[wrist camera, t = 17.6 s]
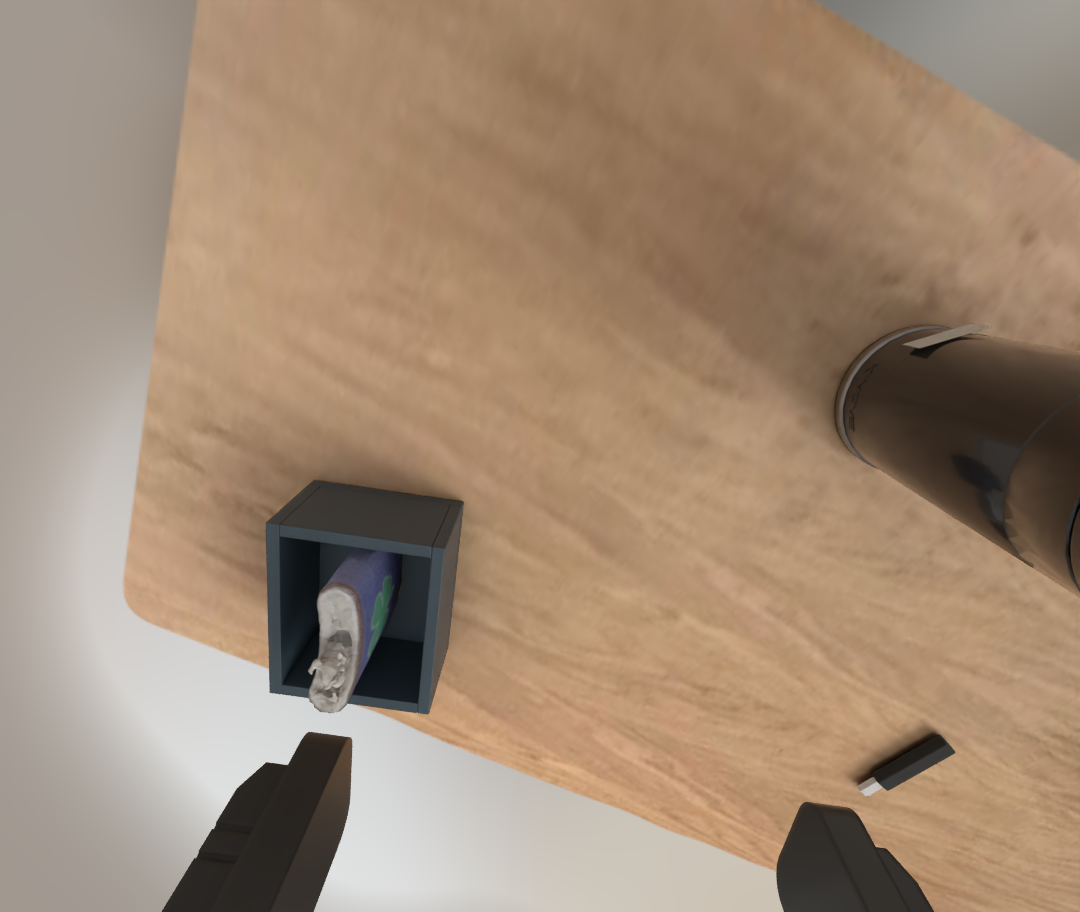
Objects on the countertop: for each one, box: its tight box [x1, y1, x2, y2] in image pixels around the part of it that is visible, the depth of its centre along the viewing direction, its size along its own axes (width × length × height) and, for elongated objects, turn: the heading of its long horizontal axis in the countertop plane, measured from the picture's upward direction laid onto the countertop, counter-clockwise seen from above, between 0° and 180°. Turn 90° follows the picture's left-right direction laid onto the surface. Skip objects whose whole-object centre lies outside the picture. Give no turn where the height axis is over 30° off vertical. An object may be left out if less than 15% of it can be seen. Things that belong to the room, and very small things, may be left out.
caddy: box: [266, 480, 464, 714], centre depth 37 cm, size 11×13×7 cm
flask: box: [308, 547, 403, 713], centre depth 35 cm, size 9×3×11 cm, turn 168°
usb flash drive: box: [857, 735, 955, 796], centre depth 45 cm, size 8×2×1 cm, turn 134°
